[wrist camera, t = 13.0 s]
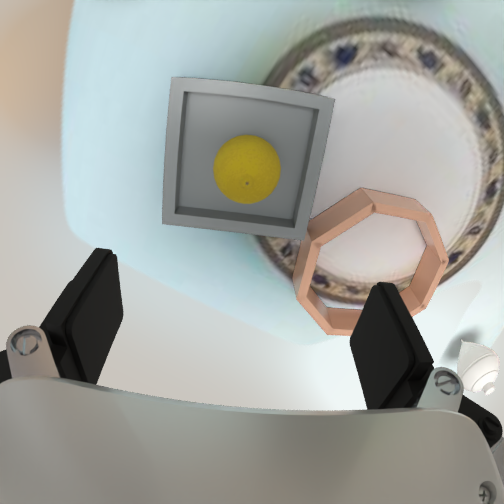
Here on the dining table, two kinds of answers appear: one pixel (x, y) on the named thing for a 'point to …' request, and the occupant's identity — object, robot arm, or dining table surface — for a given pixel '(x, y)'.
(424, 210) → the terracotta ring
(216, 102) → the grey tray
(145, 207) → the dining table surface
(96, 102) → the dining table surface
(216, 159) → the lemon
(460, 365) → the spinning top
